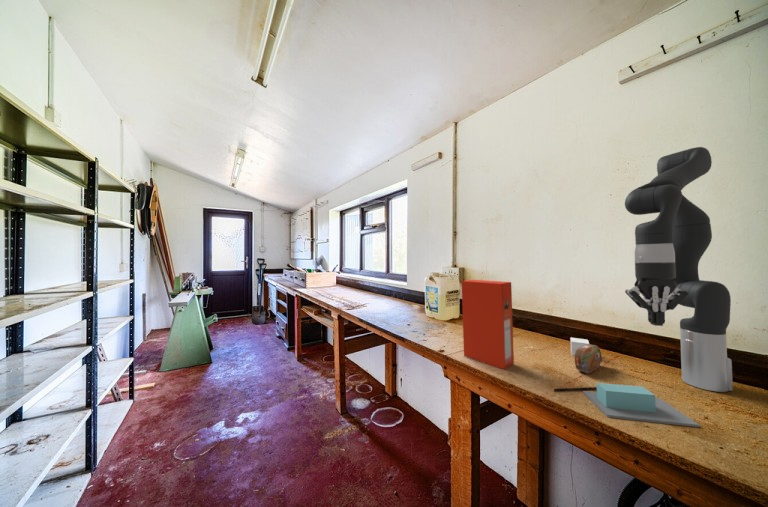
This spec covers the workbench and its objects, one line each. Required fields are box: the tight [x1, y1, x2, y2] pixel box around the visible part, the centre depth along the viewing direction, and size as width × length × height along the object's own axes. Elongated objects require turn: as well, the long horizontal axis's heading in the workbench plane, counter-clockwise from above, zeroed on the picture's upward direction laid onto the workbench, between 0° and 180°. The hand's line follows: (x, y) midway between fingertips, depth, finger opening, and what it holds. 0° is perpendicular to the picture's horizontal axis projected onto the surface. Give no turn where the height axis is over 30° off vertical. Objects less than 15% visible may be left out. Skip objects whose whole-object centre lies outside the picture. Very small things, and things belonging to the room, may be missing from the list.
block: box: [596, 382, 656, 412], centre depth 71 cm, size 4×4×11 cm
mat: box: [582, 390, 701, 428], centre depth 70 cm, size 19×12×1 cm, turn 76°
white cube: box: [569, 336, 590, 357], centre depth 108 cm, size 6×6×6 cm
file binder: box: [461, 279, 515, 370], centre depth 104 cm, size 8×17×32 cm, turn 38°
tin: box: [573, 343, 602, 374], centre depth 94 cm, size 15×3×8 cm, turn 120°
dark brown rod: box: [553, 386, 597, 393], centre depth 80 cm, size 15×1×1 cm, turn 92°
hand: (656, 324), depth 69 cm, fingers closed
